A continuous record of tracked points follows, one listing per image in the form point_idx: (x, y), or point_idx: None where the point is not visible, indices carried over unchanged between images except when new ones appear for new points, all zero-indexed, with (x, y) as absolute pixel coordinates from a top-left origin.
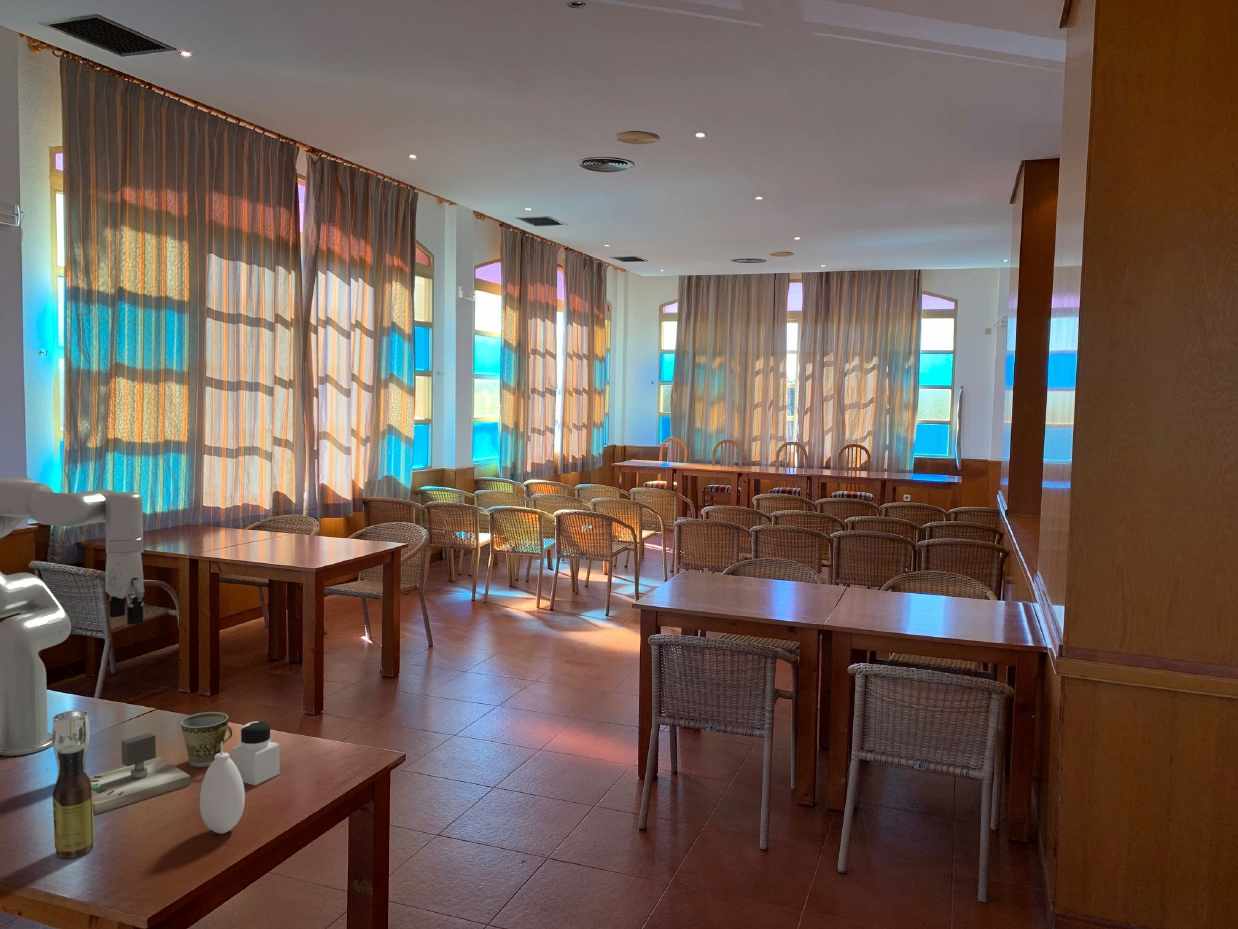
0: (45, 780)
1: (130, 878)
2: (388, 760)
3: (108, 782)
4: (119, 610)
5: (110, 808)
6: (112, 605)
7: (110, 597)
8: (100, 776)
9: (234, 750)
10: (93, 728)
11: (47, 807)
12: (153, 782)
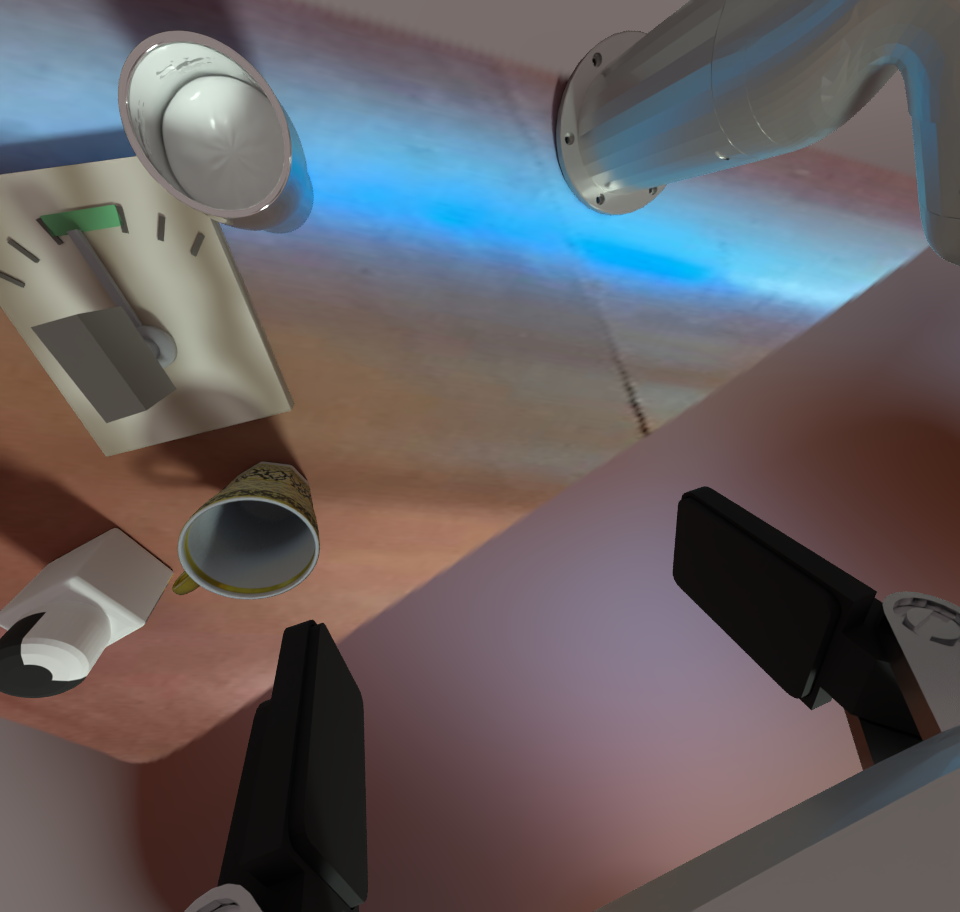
0: (329, 122)
1: None
2: (117, 755)
3: (89, 256)
4: (711, 581)
5: None
6: (777, 576)
7: (929, 625)
8: (192, 251)
9: (61, 580)
10: (628, 311)
11: (73, 67)
12: None
